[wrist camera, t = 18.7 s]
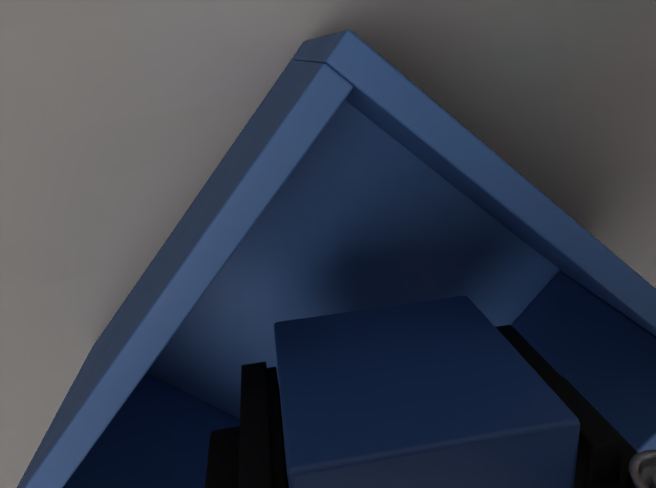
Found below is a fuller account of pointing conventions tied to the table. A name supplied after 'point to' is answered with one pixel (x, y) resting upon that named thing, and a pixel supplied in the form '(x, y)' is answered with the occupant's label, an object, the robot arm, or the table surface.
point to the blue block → (417, 403)
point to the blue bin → (342, 272)
